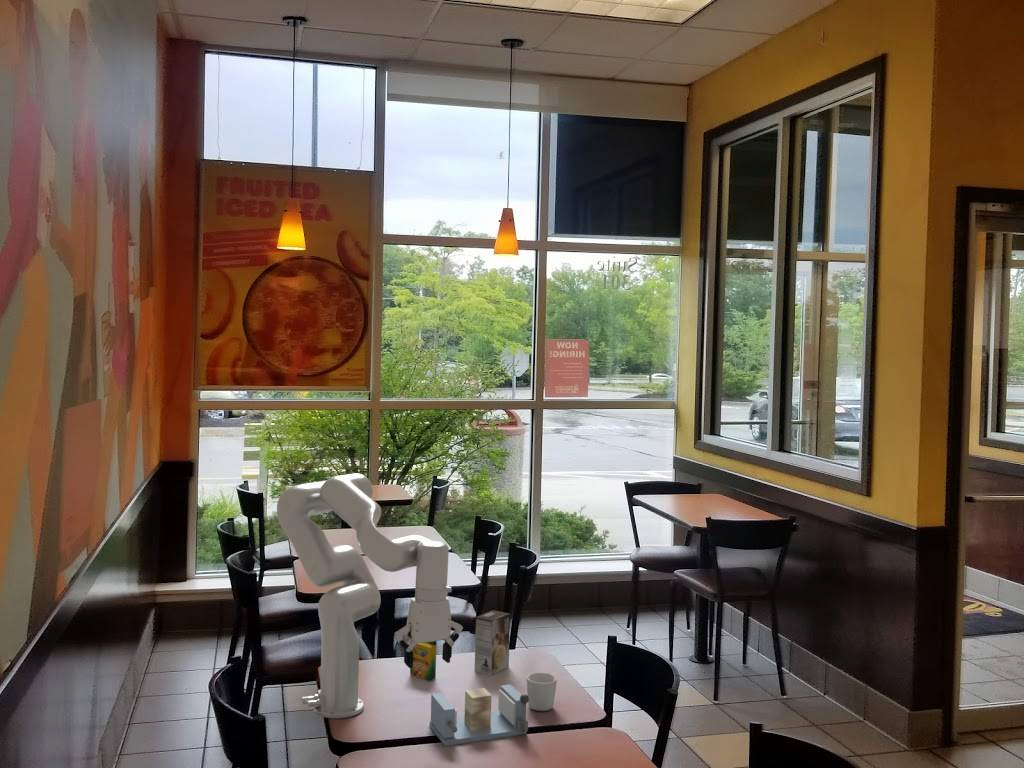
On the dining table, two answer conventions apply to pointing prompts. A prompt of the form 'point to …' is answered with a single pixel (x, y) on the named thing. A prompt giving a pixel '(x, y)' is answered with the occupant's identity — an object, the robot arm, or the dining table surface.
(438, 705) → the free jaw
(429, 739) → the dining table surface
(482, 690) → the maple block
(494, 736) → the vise bed
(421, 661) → the crayon box
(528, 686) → the cup
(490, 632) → the coffee box
